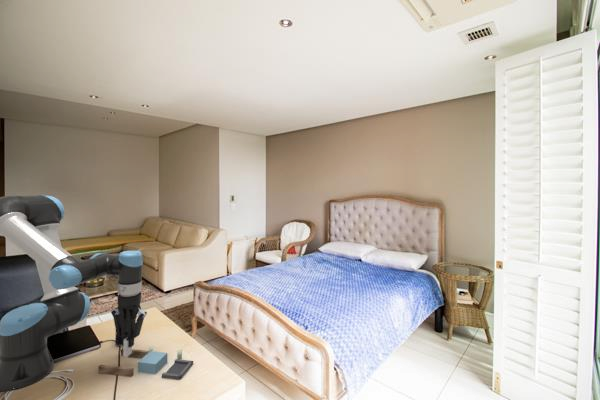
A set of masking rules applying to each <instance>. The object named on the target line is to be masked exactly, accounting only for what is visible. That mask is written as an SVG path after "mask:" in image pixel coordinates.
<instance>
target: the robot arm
mask: <svg viewBox="0 0 600 400" xmlns="http://www.w3.org/2000/svg"><path fill="white" fill-rule="evenodd" d="M65 213H66V212H65V208H64V205H63V203H62V202H61V201H60V199H58V198H56V197H55V196H51V195H42V194H39V195H4V196H0V237H4V238H6V239H7V240H8V241H9V242H10V243H12V244H13V245H15V246H16V247H17V248H18V249H20V250H21V251H22V252H23V253H25V254H26V255H28V257H30V258H31V259H32V260H33V261H35V265H36V268H37V273H38V276H39V279H40V283H41V287H42V290H43V296H42V298H41V299H40V302H34V303H30V304H25V305H22V306H19V307H16V308H14V309H12V310H10V311H8V312H6V314H5V315H4V316H2V317H1V319H0V392H6V391H7V392H8V391H12V390H11V389H13V388H18V389H22V388H25V387H27V386H29V385H33V384H34V383H36V382H39V381H40V380H42V379H43V378H45V377H47V376H48V375H49V374H50V373H51V372H52V371H53V369H54V358H53V357H52V355H51V353H50V350H49V349H48V338H49V337H51V336H53V335H55V334H57V333H60V332H61V331H64V330H66V329H67V328H70V327H73V326H75V325H76V324H79V323H80V322H82V321H84V320H85V318H87V316H88V314H89V313H90V312H91V311H90V310H91V300H90V297H89V296H88V295H87V294H86V293H85V292H84V291H82V292H81V291H80V289H79V288H78V287H76V286H79V285H81V284H84V283H87V282H90V281H93V280H96V279H99V278H103V277H105V276H111V277H118V278H117V280H118V281H117V294H118V295H117V301H116V302H117V308H115V309H113V310H111V311H110V312H111V313H110V314H111V315H112V317H113V321H114V328H115V334H116V333H117V336H118V337H119V336H120V337H121V338H122V346H121V347H122V348H123V356H122V357H123V358H129V357H128V356H129V355H130V354H131V353H132V349H133V346H134V345H135V339H136V338H137V337H138V336H140V334H141V330H142V327H143V323H144V319H145V317H146V315H147V314H148V312H147V311H144V310H142V307H141V302H142V287H143V286H142V285H143V284H142V283H143V280H142V279H143V278H142V277H143V276H142V275H143V264H144V261H143V252H142V251H139V250H125V251H122V252H119V254H111V253H105V252H104V253H99V252H98V253H95V254H93V255H92V256H90V257H89V258H87V259H83V260H79V259H78V258H76V257H75V256H73V255H72V254H71V253H69V252H68V251H67V250H66V249H65V248H63V247H62V243H61V240H60V239H61V238H60V237H59V232H58V229H59V227H60V226H61V221H62V220H63V219H64V217H65ZM120 331H121V332H120Z"/></svg>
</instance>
